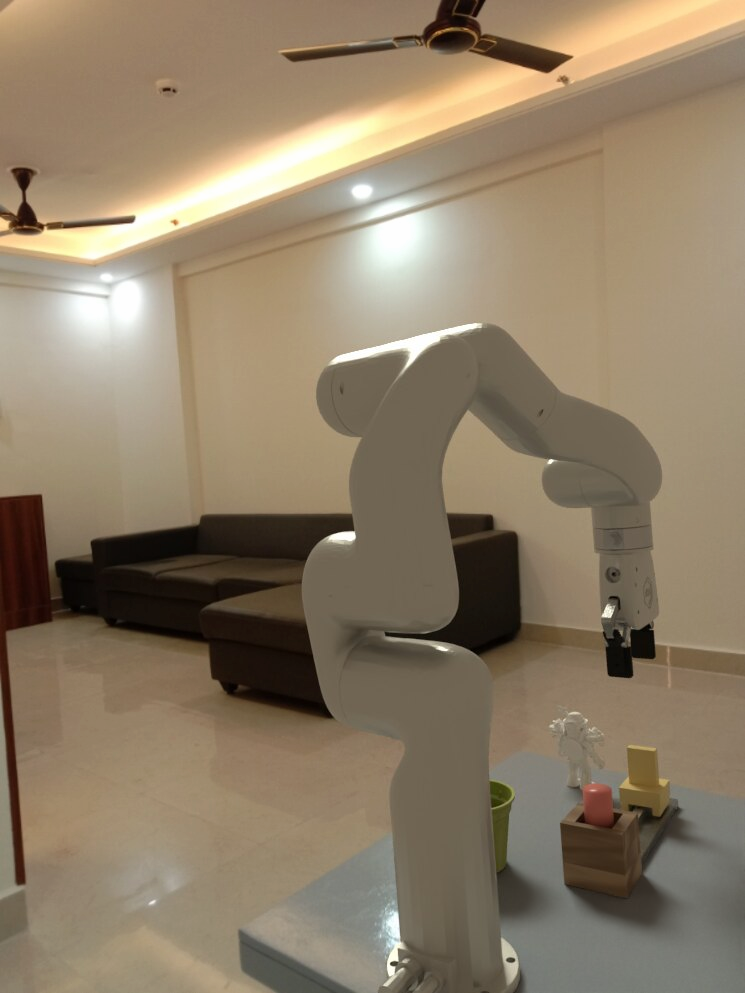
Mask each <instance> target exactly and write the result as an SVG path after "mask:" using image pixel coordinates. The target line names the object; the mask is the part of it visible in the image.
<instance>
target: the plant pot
mask: <svg viewBox="0 0 745 993" xmlns="http://www.w3.org/2000/svg"><path fill="white" fill-rule="evenodd" d="M489 780H490V797H491V810H492V823H493V835H494V848H495V862H496V874H497V873H500V872H501V871H502V870H504V869H505V867H506V865H507V859H508V858H507V856H508V843H509V842H508V841H509V824H510V822H509V821H510V812H511V811H512V804H513V802H514V800H515V799H516V798H515V797H516V793H515V790H514V788H513V787H511V786H510V785H509V784H507V783H505V782H502V781H499V780H494V779H489Z"/></svg>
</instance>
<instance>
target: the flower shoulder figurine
mask: <svg viewBox="0 0 745 993" xmlns="http://www.w3.org/2000/svg"><path fill="white" fill-rule="evenodd" d="M554 707H555V710H556V709H557V712H561V714H562V715H564V716H565V715H566V717H564V719H562V717H558V719H556V720H552V723H553V724H550V725H549V726H548V728H549V729H550V730H549V732H550V735H551V737H552V738H554V739H555V738H557V737H558V736H559V737H558V740H557V755H558V757H559V758H563V757H566V758H567V761H568V769H569V770H568V776H567V780H566V785H567V787H569V788H578V787H579V789H580V790H581V791H583V787H584V786H585V785H588V784H596V783H595V782H594V781H592V771H591V765H590V762H589V758H588V756H589V757H590V758H591V759H592V761H593V763H594V764H596V766H597V767H598V768H599V770H602V769H604V768H605V765H606V762H605V759H603V758H602V757H601V756H600V755H599V753H598V752H597V751H596V749H595V748H594V746H595V744H596V743H598V744H599V746H600V747H604V746H605V743H606V738H605V737H604V736H605V733H603V732H602V731H601V730H599V729H598V728H597V727H599V725H597V727H595V726H593V727H592V728H590V727H589V728H588V724H587V723H588V721H589V719H587V718H585V716H584V715H583V714H582V713H581V712H578V711H571V712H569V711H567V710H568V707H563V706H561V705H559V704H558V703H555V704H554ZM559 734H560V735H559ZM579 769H580V770H579ZM579 771H581V772H580V773H581V776H580V778H579Z"/></svg>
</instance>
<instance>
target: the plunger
mask: <svg viewBox="0 0 745 993" xmlns="http://www.w3.org/2000/svg"><path fill="white" fill-rule="evenodd" d="M612 791H613V789H612V787H610V785H607V784H604V783H595V784H588V785H585V786H584V787H583V790H582V798H583V799H582V800H583V802H582V803H584V817H585V824H589V825H594V826H599V827H605V828H610V829H612V828H613V827H614V815H613V809H614V804H613V803H614V802H613V792H612Z"/></svg>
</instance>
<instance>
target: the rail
mask: <svg viewBox="0 0 745 993" xmlns="http://www.w3.org/2000/svg"><path fill="white" fill-rule="evenodd" d="M669 800H670V802H669V804H668V805H667V807H666V808H665V810H664V811H663V813H662V815H661V816H660V817H658V816H653V812H652V808H649V807H643V806H637V805H633V806H632V807H631V809H630V810H629V811H630V812H636V813H638V823H639V838H640V852H641V867H642V866H643V864H644V862H646V860H647V858H648V856H649V855H650V853H651V851H652V849H653V848H654V847H655V845H656V843H657V841H658V840H659V839H660V837H661V835H662V833H663V832H664V830H665V829H666V827H667V826H668V824H669V823H670V821H671V819H672V817H673V816H674V814H675V812H676V811H677V809H678V808H679V801H678V798H673V797H672V798H671V797H669ZM677 807H678V808H677ZM676 808H677V809H676ZM618 809H619V810H622V808H621V807H620V808H618ZM675 810H676V811H675Z"/></svg>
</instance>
